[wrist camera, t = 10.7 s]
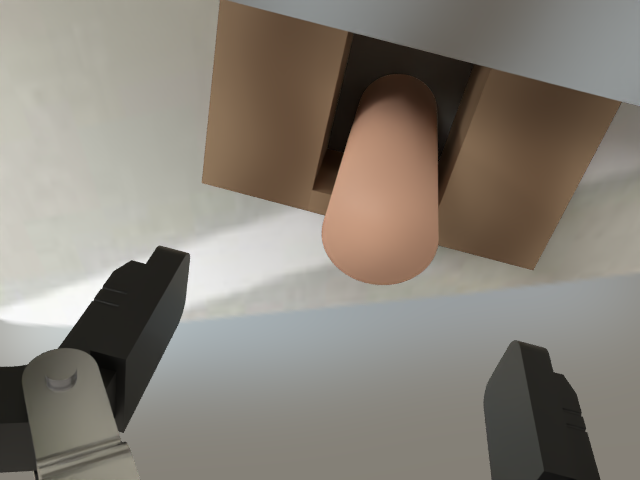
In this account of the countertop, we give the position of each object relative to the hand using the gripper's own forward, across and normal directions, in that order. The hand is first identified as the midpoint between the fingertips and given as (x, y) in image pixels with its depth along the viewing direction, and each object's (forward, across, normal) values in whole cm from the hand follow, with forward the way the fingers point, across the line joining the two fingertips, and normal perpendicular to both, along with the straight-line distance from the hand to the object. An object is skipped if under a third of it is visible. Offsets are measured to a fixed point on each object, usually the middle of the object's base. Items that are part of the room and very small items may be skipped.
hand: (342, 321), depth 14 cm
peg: (+14, -1, 0) cm, 14 cm away
